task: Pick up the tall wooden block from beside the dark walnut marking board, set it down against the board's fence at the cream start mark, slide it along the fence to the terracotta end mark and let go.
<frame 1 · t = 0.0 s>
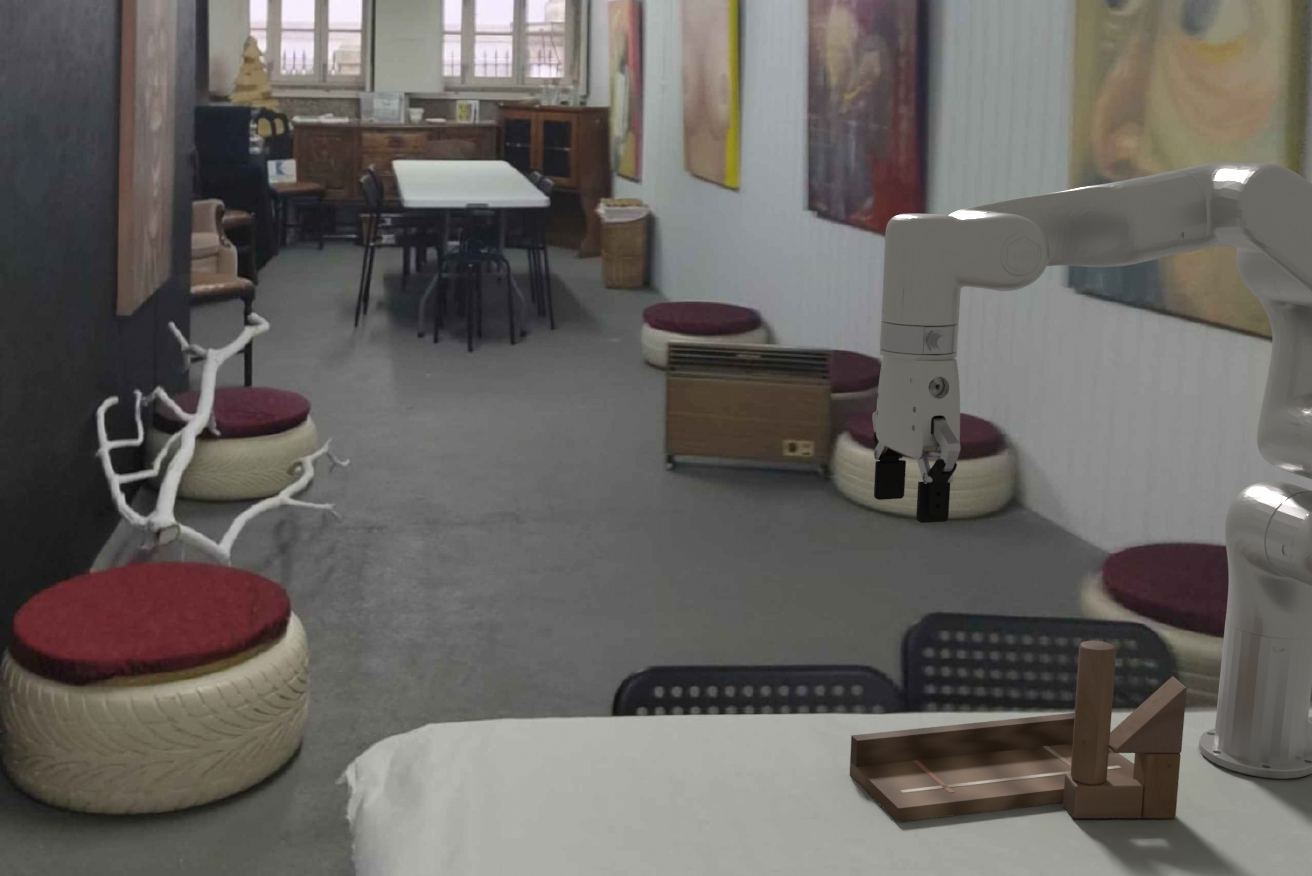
hand: (909, 509, 149), 31 cm above the table, tool pointing down, fingers open, 9 cm apart
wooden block: (1118, 814, 153), on the table
marking board: (1000, 782, 160), on the table
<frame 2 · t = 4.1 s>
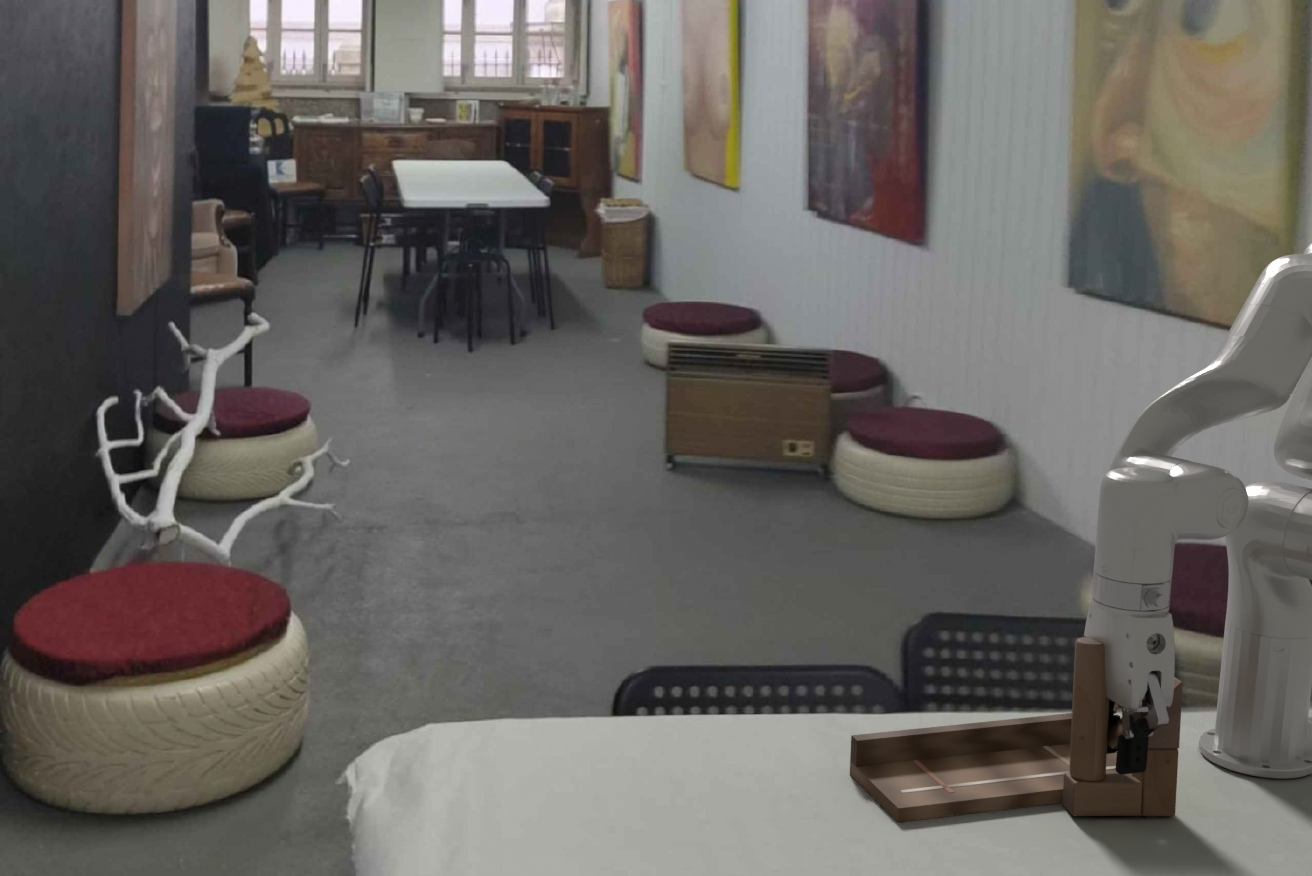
hand: (1116, 760, 153), 5 cm above the table, tool pointing down, fingers closed on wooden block, 4 cm apart
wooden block: (1118, 813, 153), on the table, touching gripper
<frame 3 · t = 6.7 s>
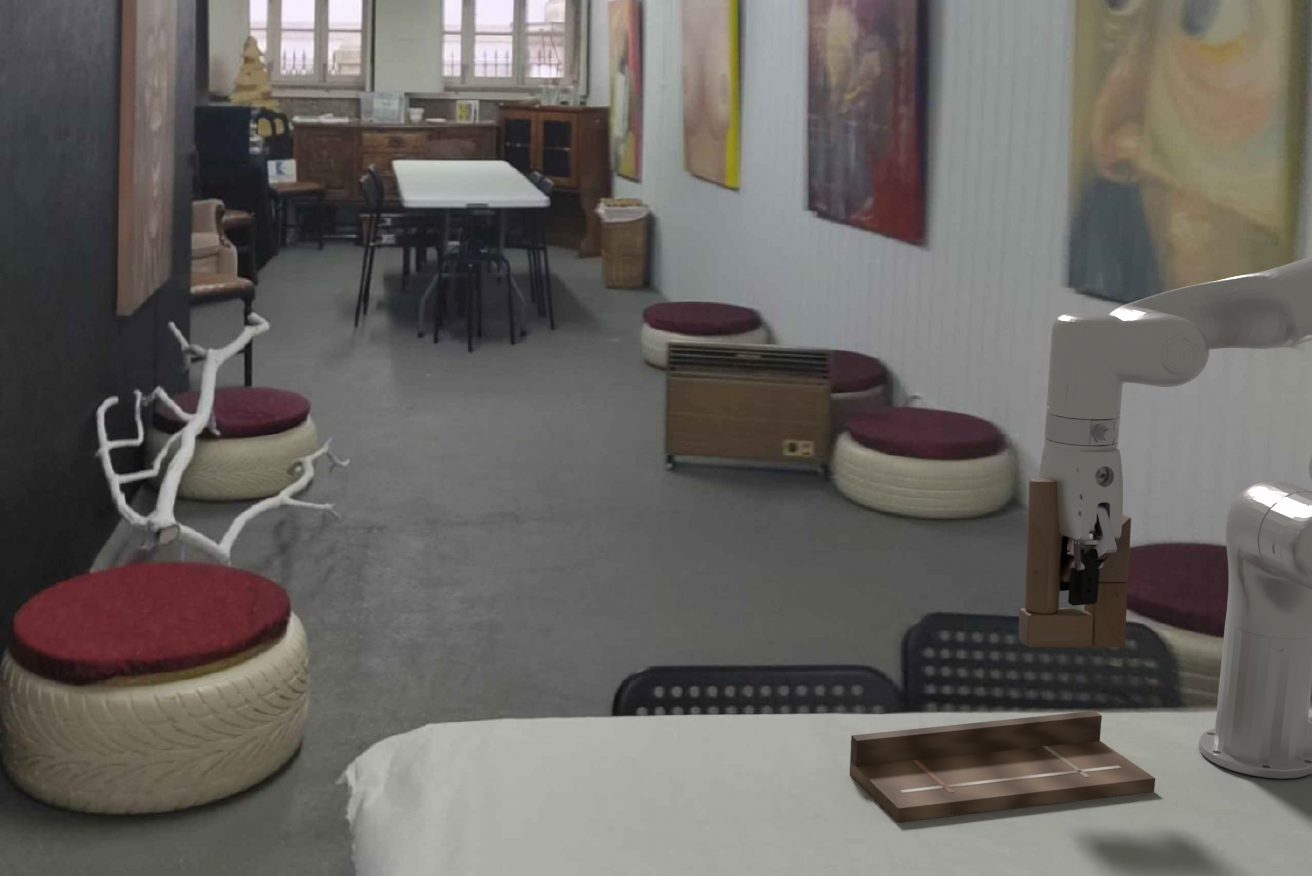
hand: (1069, 595, 160), 20 cm above the table, tool pointing down, fingers closed on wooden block, 4 cm apart
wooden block: (1071, 646, 161), point 14 cm above the table, touching gripper
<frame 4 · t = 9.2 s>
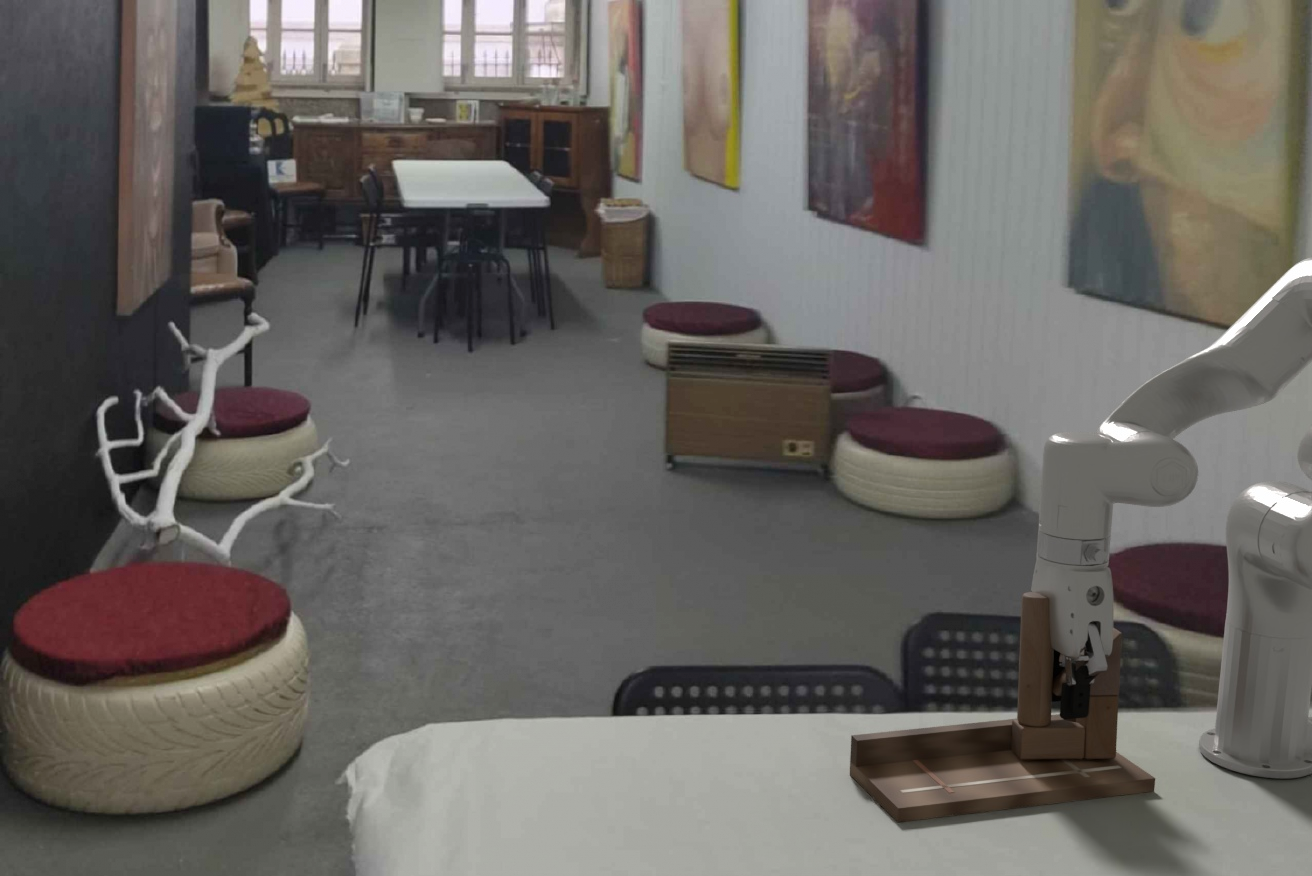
hand: (1061, 707, 163), 7 cm above the table, tool pointing down, fingers closed on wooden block, 4 cm apart
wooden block: (1062, 757, 163), point 2 cm above the table, touching gripper, marking board
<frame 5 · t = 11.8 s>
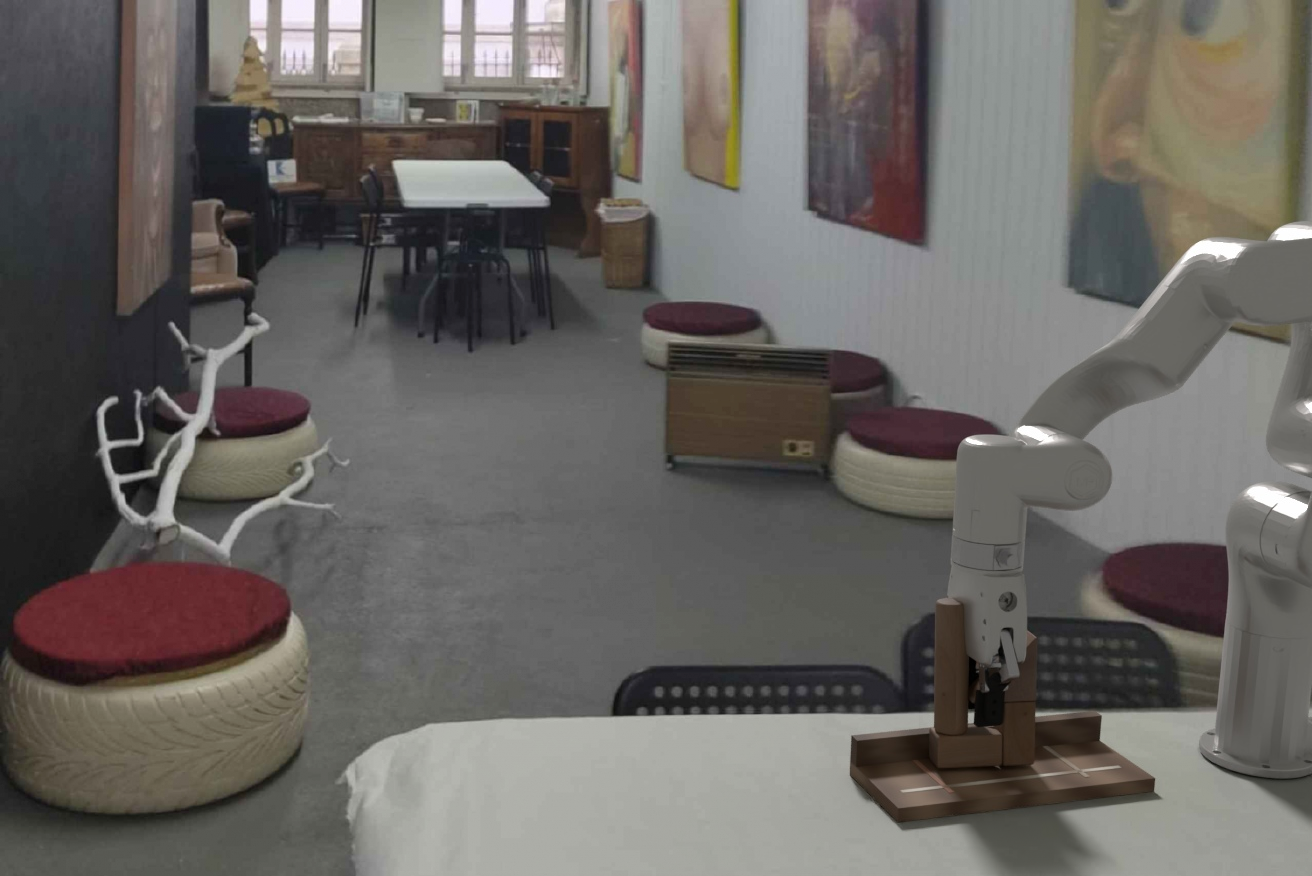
hand: (977, 715, 160), 7 cm above the table, tool pointing down, fingers closed on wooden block, 4 cm apart
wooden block: (981, 764, 161), point 2 cm above the table, touching gripper
when the fingers open (7 cm above the table, at t = 14.4 s): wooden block stays where it is, resting on marking board.
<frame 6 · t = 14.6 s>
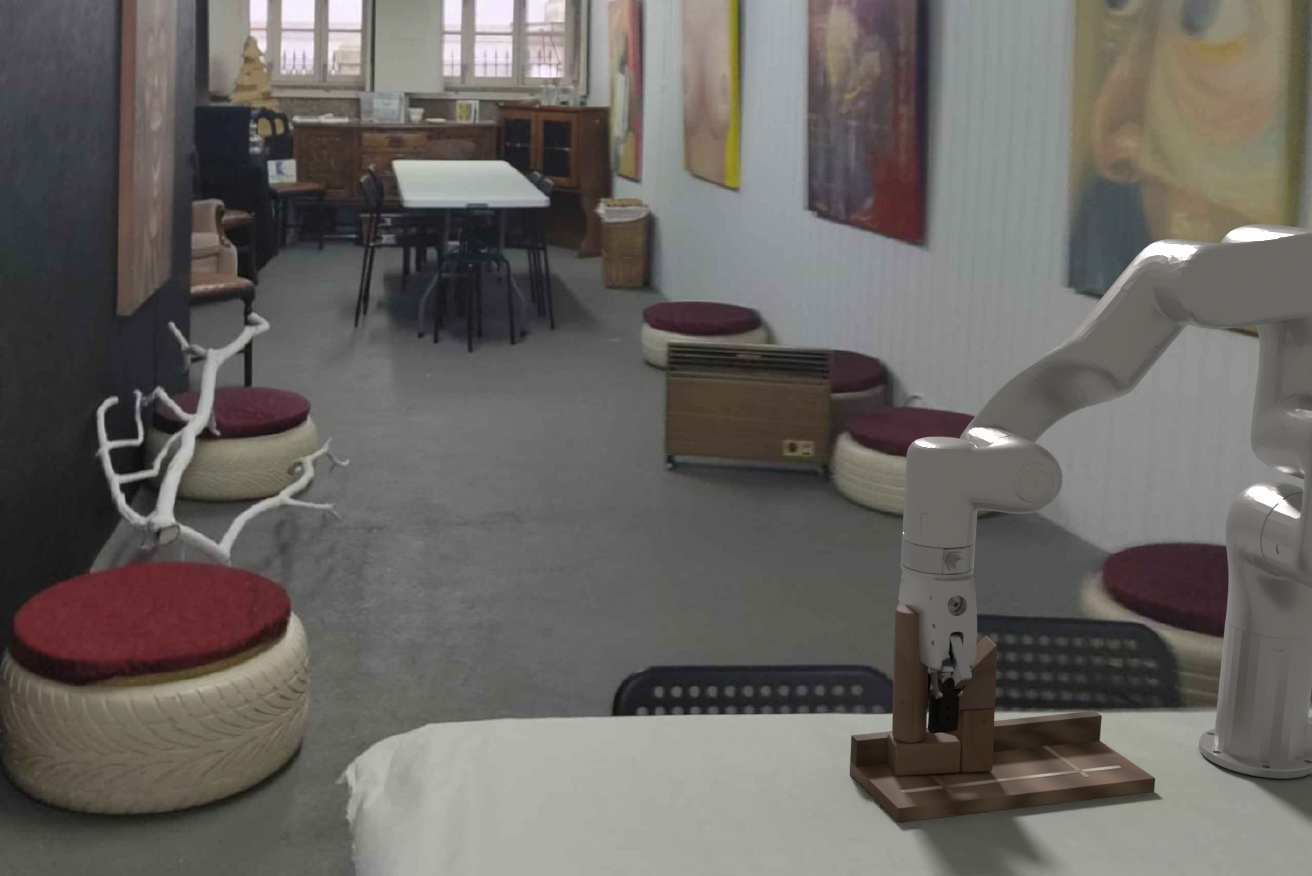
hand: (928, 718, 158), 7 cm above the table, tool pointing down, fingers open, 5 cm apart
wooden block: (939, 769, 160), point 1 cm above the table, touching marking board
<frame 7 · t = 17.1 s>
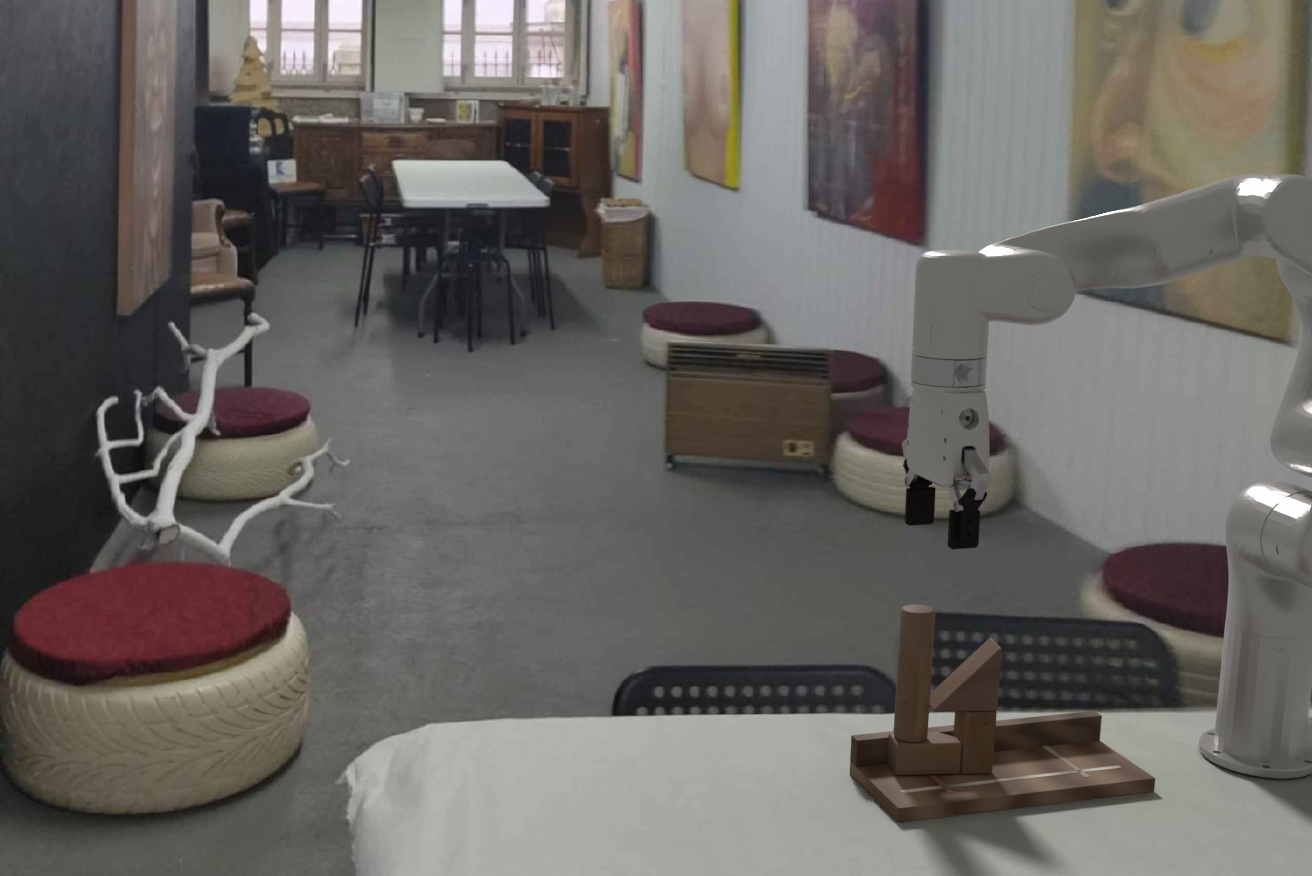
hand: (940, 535, 154), 27 cm above the table, tool pointing down, fingers open, 9 cm apart
nothing on the table moved.
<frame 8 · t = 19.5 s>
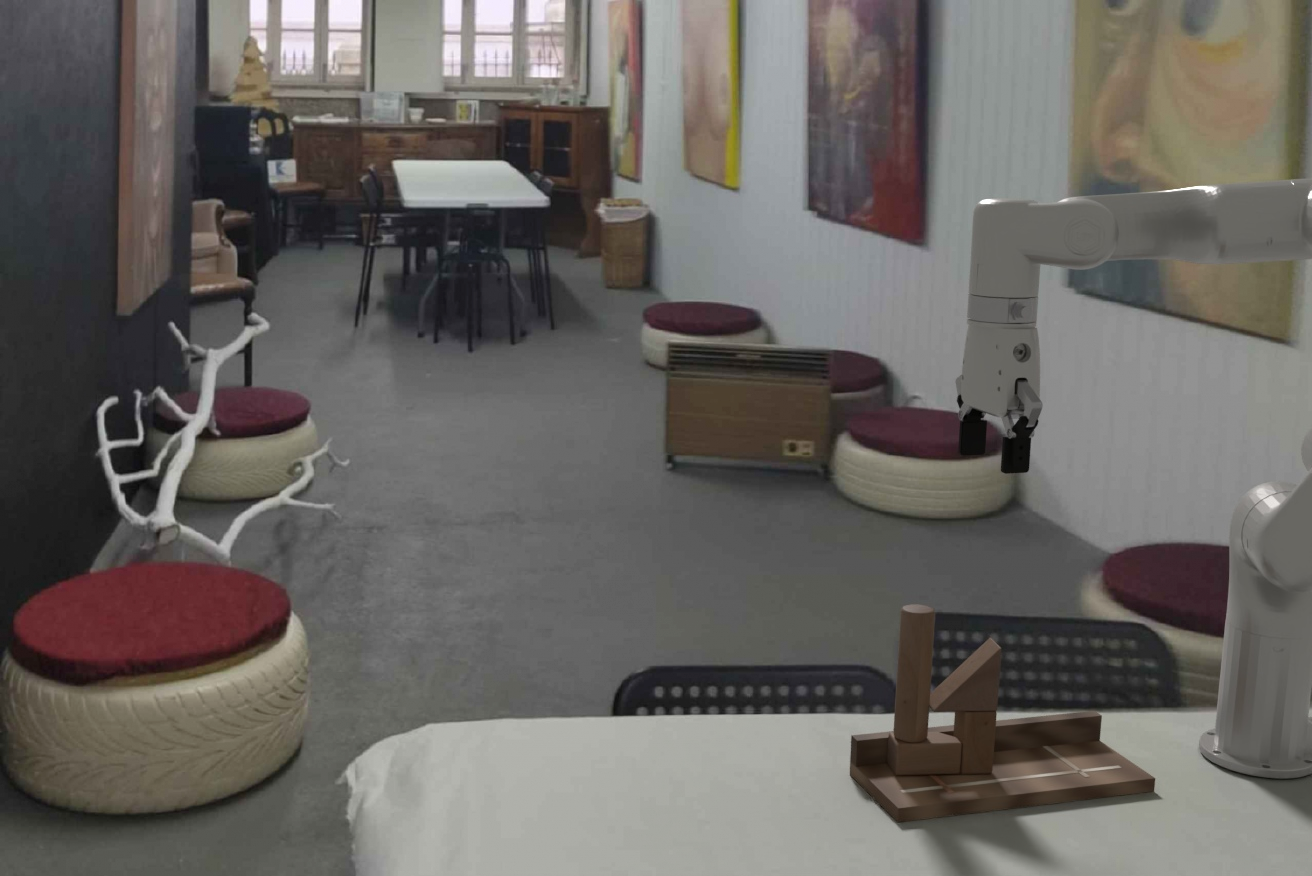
hand: (992, 463, 167), 32 cm above the table, tool pointing down, fingers open, 9 cm apart
nothing on the table moved.
at the end: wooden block 1.5 cm from the target spot, point 1.3 cm above the table; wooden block tilted 0°; the gripper is holding nothing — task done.
